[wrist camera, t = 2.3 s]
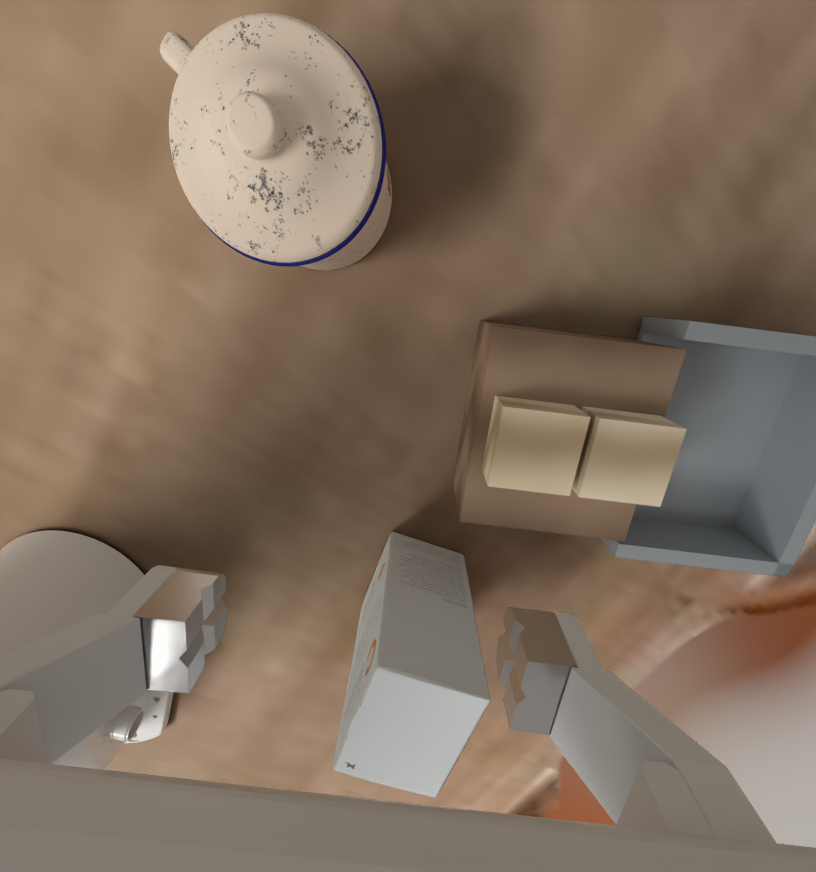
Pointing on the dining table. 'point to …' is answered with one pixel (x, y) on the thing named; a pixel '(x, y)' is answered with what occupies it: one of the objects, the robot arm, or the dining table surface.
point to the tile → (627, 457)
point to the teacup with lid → (279, 142)
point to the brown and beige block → (566, 384)
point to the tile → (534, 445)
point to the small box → (413, 671)
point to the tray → (734, 452)
